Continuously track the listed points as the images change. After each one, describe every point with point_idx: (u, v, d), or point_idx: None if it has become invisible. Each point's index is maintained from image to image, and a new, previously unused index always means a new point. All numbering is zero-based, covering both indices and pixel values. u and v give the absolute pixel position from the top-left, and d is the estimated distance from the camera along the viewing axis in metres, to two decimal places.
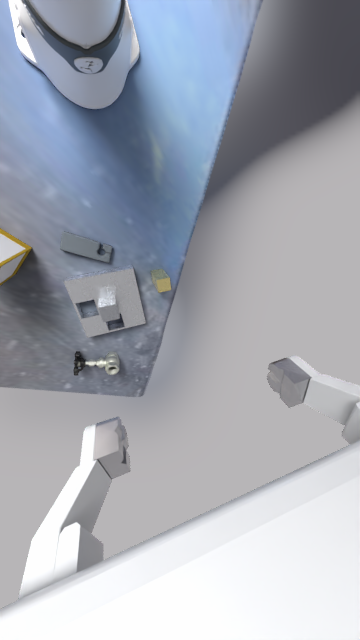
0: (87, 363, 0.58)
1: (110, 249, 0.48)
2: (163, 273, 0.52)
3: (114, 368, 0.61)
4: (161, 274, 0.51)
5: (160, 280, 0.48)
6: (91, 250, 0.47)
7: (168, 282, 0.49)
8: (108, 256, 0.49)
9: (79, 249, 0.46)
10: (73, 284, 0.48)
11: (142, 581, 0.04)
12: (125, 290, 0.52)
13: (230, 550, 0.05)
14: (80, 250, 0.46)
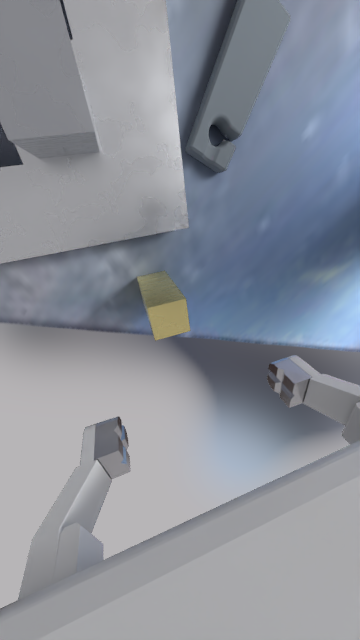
0: None
1: (222, 165, 0.18)
2: None
3: None
4: None
5: (184, 309, 0.17)
6: (230, 100, 0.16)
7: (176, 330, 0.18)
8: (206, 152, 0.18)
9: (240, 55, 0.15)
10: None
11: (142, 581, 0.04)
12: (122, 196, 0.16)
13: (230, 550, 0.05)
14: (237, 57, 0.15)
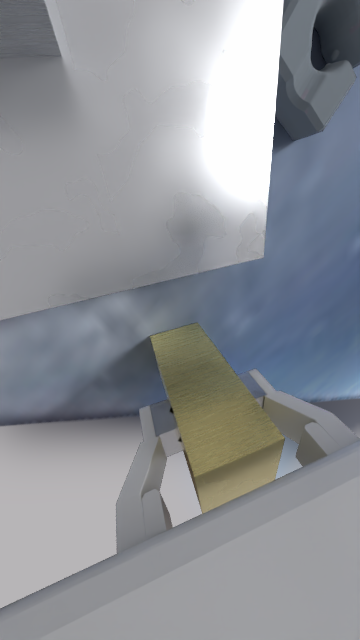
0: None
1: (320, 115, 0.08)
2: None
3: None
4: None
5: (274, 455, 0.07)
6: None
7: (250, 488, 0.08)
8: (297, 76, 0.08)
9: None
10: None
11: (142, 582, 0.04)
12: (128, 192, 0.06)
13: (230, 550, 0.05)
14: None
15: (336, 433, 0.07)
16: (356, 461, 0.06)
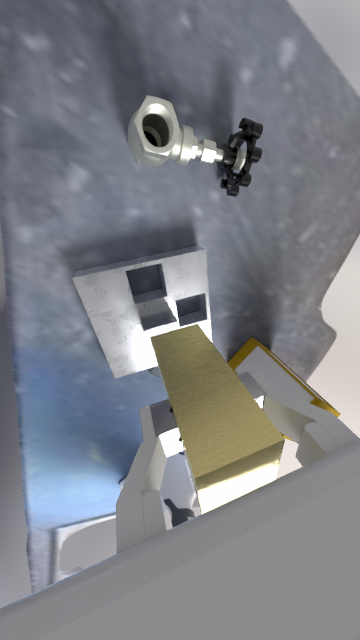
0: (217, 156, 0.21)
1: (152, 371, 0.34)
2: None
3: (146, 115, 0.17)
4: None
5: (274, 456, 0.07)
6: None
7: (250, 488, 0.08)
8: None
9: None
10: None
11: (142, 582, 0.04)
12: (126, 346, 0.29)
13: (230, 550, 0.05)
14: None
15: (336, 433, 0.07)
16: (356, 461, 0.06)
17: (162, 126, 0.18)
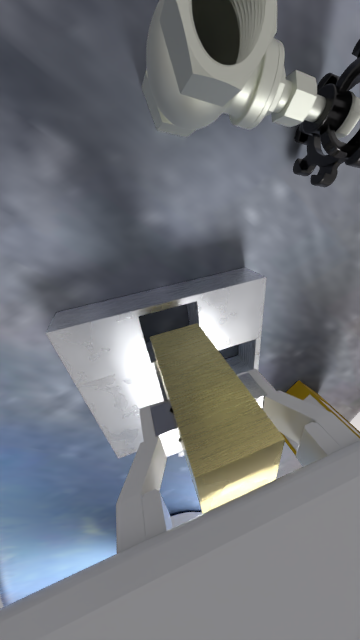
0: (313, 108, 0.11)
1: None
2: None
3: None
4: None
5: (274, 456, 0.07)
6: None
7: (250, 488, 0.08)
8: None
9: None
10: None
11: (142, 582, 0.04)
12: (136, 418, 0.19)
13: (230, 550, 0.05)
14: None
15: (336, 433, 0.07)
16: (356, 461, 0.06)
17: (220, 35, 0.09)
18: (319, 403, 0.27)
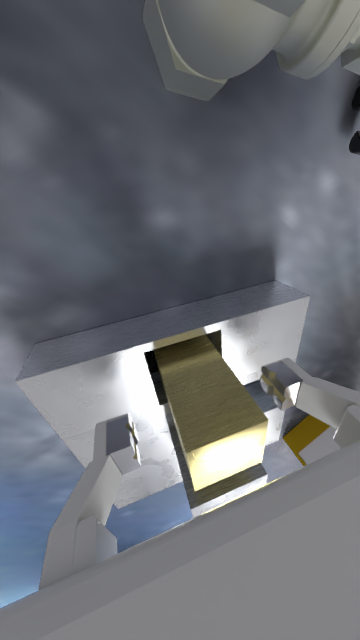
0: None
1: None
2: None
3: None
4: None
5: (259, 436, 0.08)
6: None
7: (238, 467, 0.09)
8: None
9: None
10: None
11: (142, 582, 0.04)
12: None
13: (230, 550, 0.05)
14: None
15: None
16: (356, 461, 0.06)
17: None
18: None
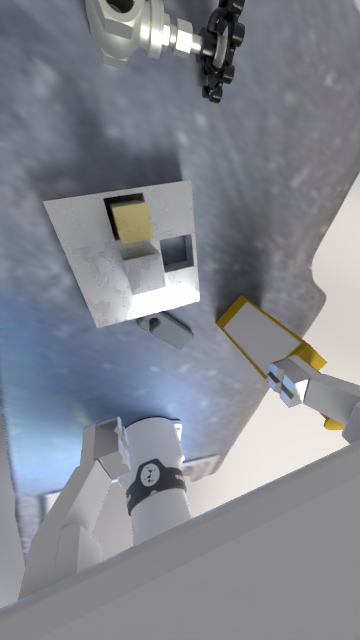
0: (195, 43, 0.18)
1: (140, 323, 0.33)
2: None
3: None
4: None
5: (146, 214, 0.20)
6: (164, 328, 0.35)
7: (141, 236, 0.20)
8: (147, 316, 0.33)
9: (176, 331, 0.36)
10: (188, 297, 0.32)
11: (142, 582, 0.04)
12: (108, 290, 0.27)
13: (230, 550, 0.05)
14: (175, 330, 0.36)
15: None
16: (356, 461, 0.06)
17: None
18: (252, 305, 0.36)
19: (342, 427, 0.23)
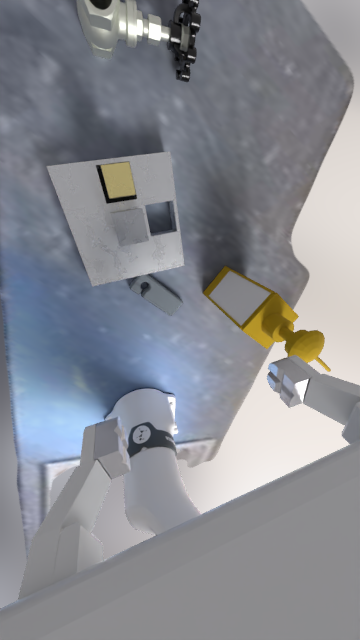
0: (164, 33, 0.23)
1: (133, 287, 0.37)
2: None
3: None
4: None
5: (128, 172, 0.24)
6: (154, 292, 0.39)
7: (125, 191, 0.25)
8: (139, 279, 0.37)
9: (166, 297, 0.40)
10: (174, 261, 0.36)
11: (142, 581, 0.04)
12: (101, 250, 0.32)
13: (230, 550, 0.05)
14: (165, 296, 0.40)
15: None
16: (356, 461, 0.06)
17: (107, 0, 0.20)
18: (233, 272, 0.39)
19: (303, 358, 0.25)
